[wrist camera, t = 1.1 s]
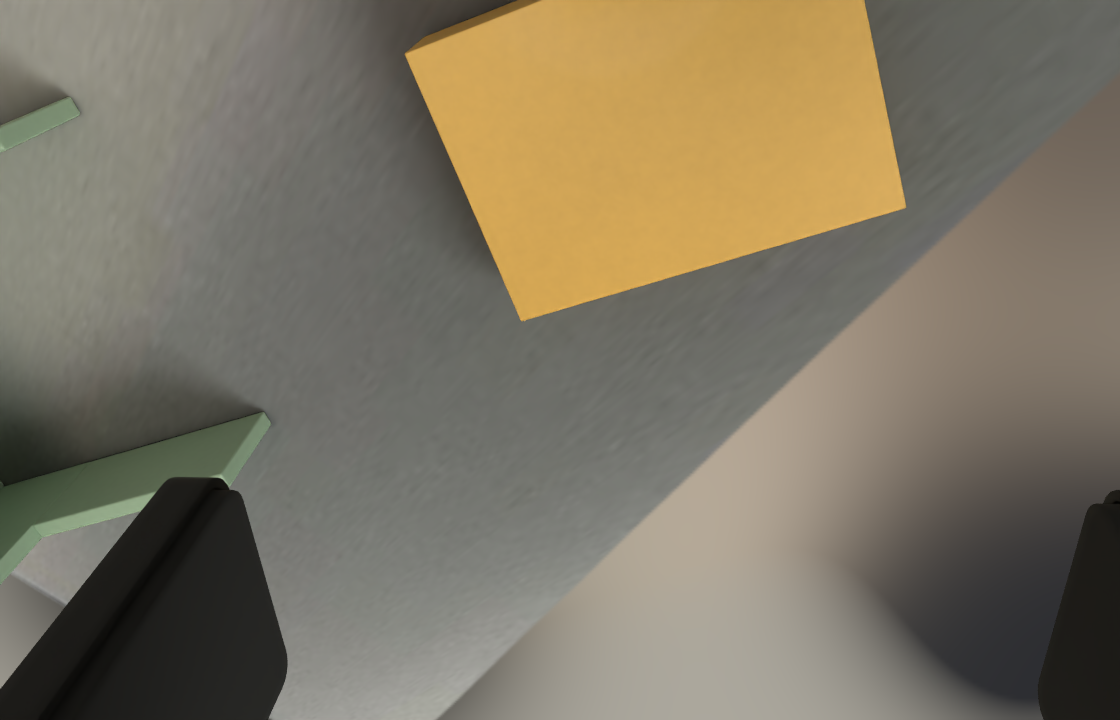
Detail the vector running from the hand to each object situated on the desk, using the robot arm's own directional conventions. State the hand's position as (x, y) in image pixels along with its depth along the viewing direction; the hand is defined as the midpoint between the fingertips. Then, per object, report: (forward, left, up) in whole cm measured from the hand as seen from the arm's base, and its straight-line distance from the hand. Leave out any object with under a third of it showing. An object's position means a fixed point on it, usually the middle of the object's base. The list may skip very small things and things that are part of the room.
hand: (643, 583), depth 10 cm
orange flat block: (+1, +1, -27) cm, 27 cm away
